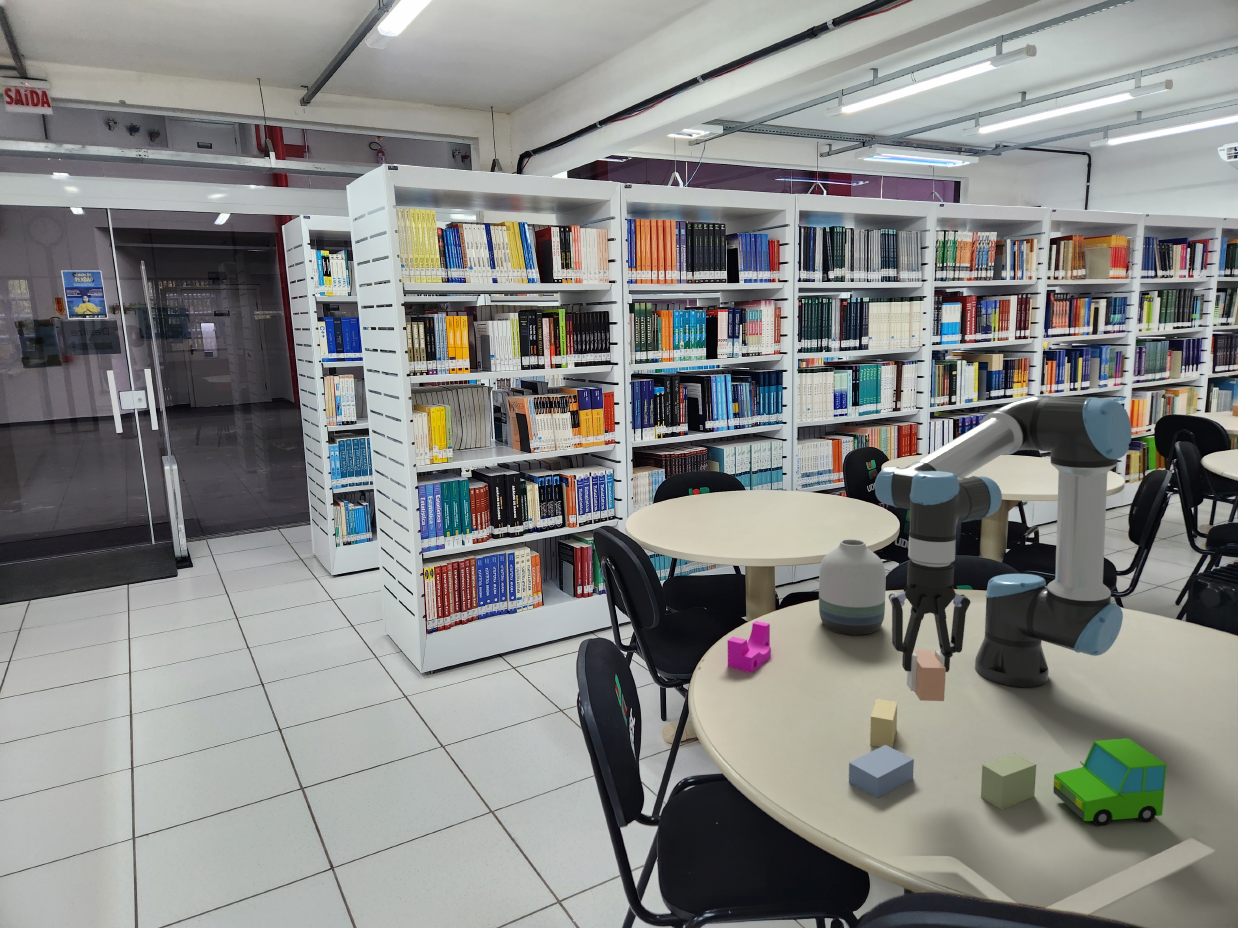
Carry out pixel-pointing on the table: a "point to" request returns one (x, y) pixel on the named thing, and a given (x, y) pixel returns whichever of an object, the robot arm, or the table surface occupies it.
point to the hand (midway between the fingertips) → (924, 687)
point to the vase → (852, 589)
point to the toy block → (750, 648)
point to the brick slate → (881, 770)
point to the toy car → (1114, 783)
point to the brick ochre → (883, 723)
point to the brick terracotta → (929, 676)
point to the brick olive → (1008, 780)
